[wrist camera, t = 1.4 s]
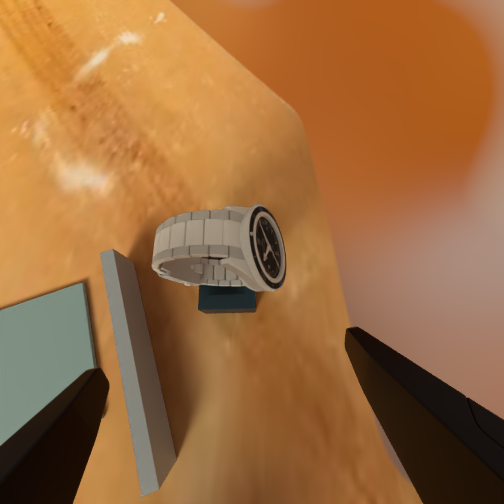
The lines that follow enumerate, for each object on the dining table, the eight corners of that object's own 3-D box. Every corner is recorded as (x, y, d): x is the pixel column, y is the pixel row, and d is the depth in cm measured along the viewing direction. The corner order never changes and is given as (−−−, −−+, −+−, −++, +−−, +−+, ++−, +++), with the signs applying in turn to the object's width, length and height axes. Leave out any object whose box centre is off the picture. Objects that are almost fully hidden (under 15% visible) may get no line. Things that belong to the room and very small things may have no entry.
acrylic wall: (176, 459, 17) (159, 489, 14) (163, 465, 17) (141, 497, 14) (133, 261, 22) (112, 248, 19) (122, 265, 22) (99, 252, 19)
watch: (277, 311, 21) (305, 287, 10) (185, 314, 20) (118, 292, 10) (273, 251, 22) (293, 179, 12) (189, 253, 22) (136, 181, 12)
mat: (104, 416, 18) (100, 418, 17) (-40, 476, 17) (-47, 479, 16) (85, 283, 21) (82, 282, 21) (-35, 324, 20) (-41, 323, 20)
